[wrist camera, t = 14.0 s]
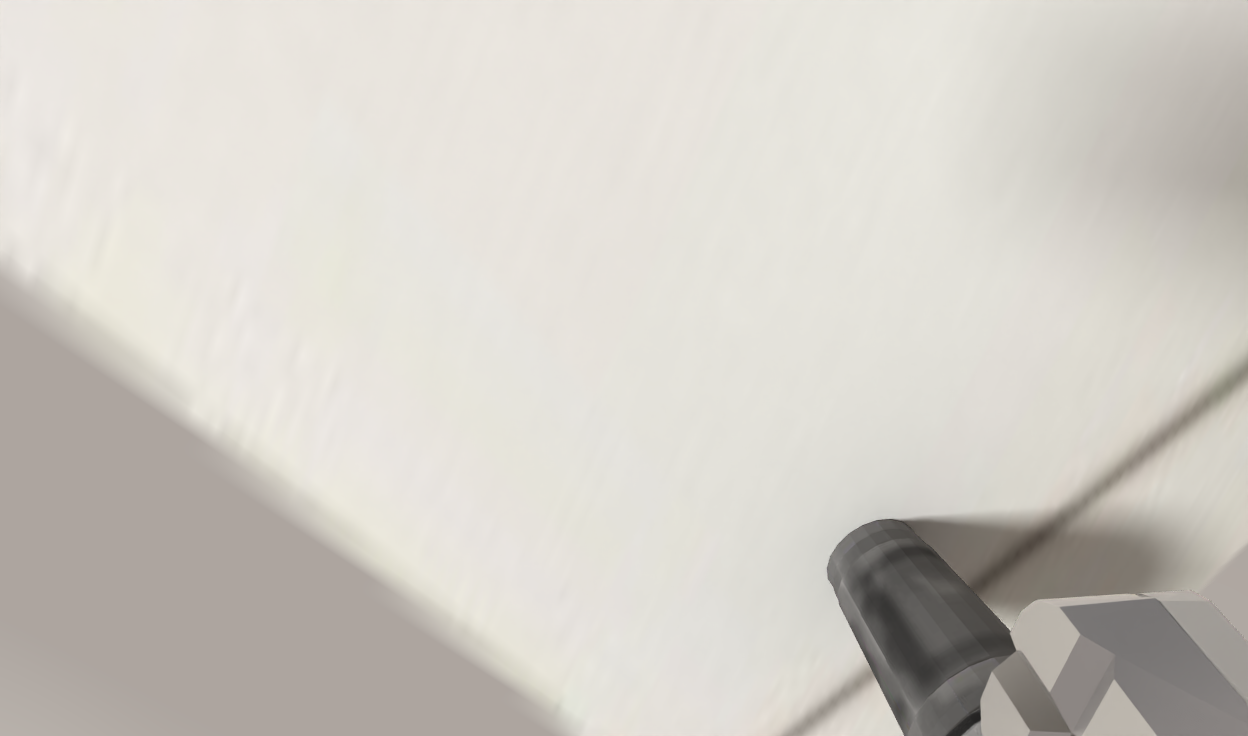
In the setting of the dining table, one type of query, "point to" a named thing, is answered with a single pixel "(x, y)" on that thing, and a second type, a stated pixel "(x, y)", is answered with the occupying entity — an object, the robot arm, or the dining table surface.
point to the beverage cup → (918, 628)
